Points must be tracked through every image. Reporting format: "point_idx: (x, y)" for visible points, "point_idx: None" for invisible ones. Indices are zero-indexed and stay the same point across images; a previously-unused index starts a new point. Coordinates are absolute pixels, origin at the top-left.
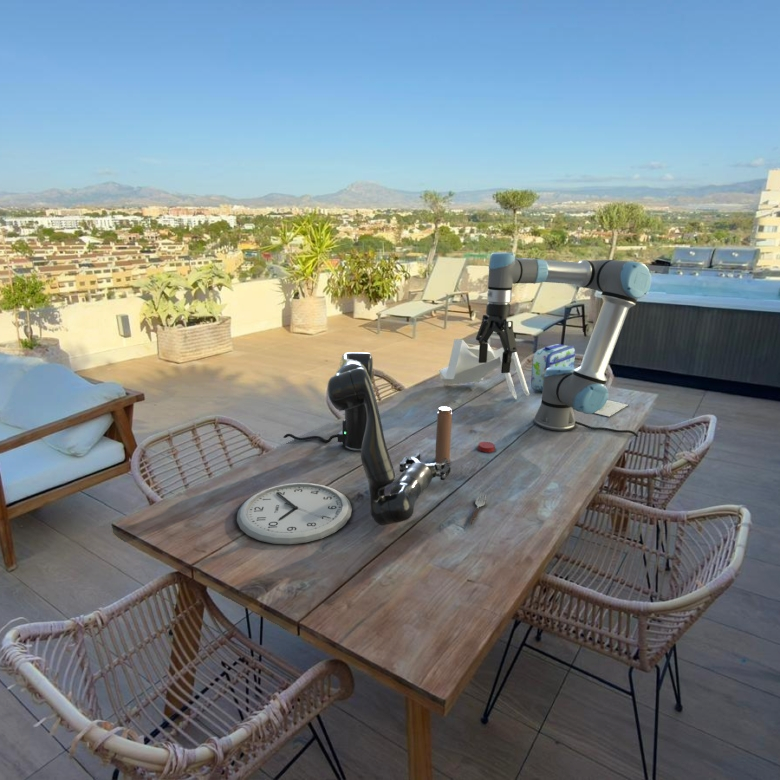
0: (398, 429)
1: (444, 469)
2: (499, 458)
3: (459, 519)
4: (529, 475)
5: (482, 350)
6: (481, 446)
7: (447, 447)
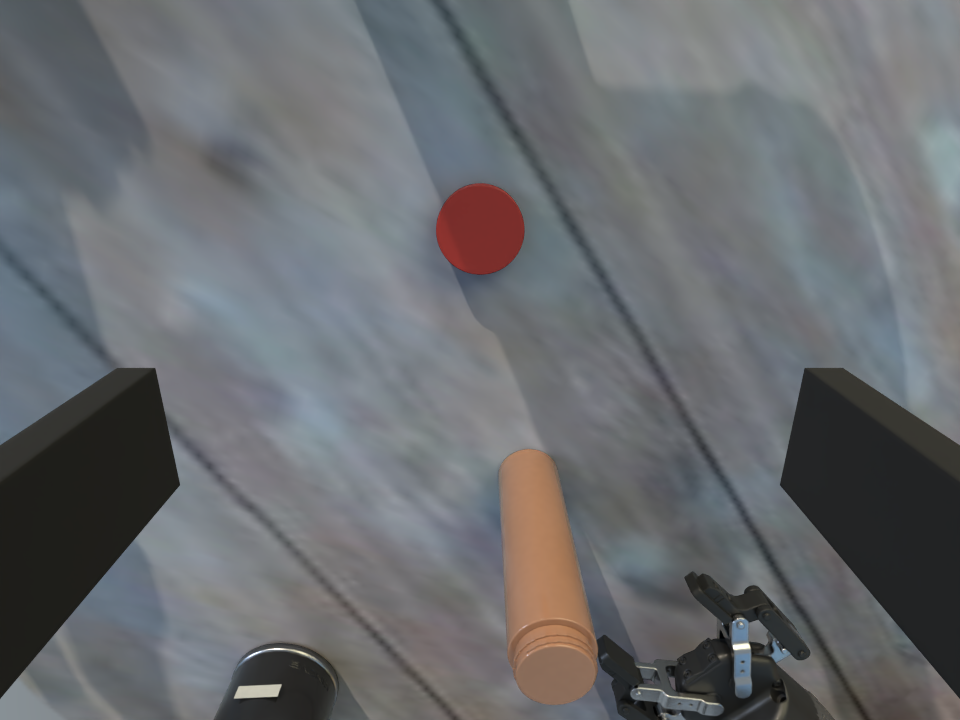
0: None
1: (789, 642)
2: (600, 226)
3: None
4: (815, 198)
5: (25, 610)
6: (489, 269)
7: (568, 517)
